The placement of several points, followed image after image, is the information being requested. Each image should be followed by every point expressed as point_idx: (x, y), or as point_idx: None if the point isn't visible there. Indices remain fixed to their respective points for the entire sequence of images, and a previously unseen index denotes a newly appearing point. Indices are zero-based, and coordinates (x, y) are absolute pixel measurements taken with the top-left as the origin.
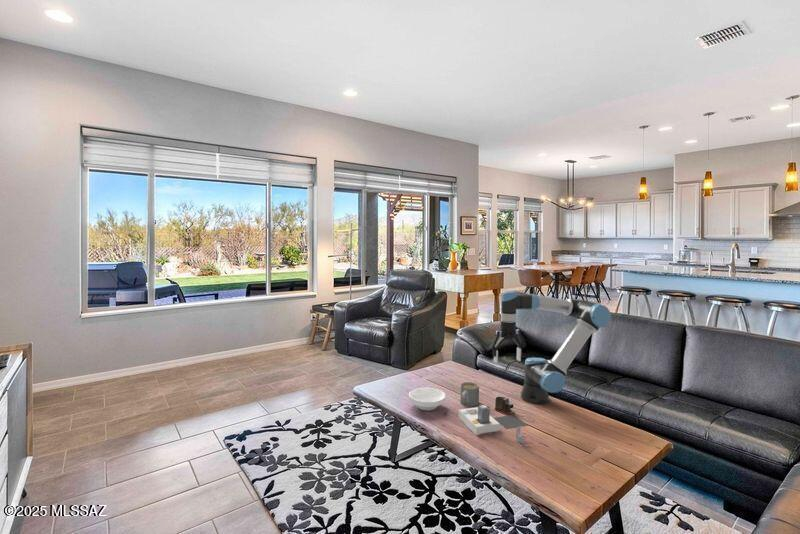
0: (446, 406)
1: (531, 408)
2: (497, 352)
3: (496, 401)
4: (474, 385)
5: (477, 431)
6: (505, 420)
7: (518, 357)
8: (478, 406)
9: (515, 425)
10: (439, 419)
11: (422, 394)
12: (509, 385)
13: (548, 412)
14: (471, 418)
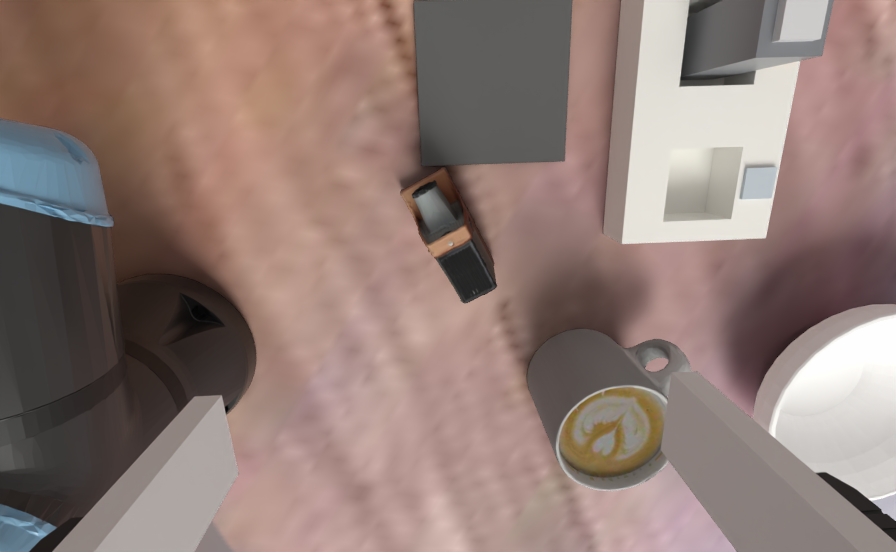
0: (714, 361)
1: (261, 233)
2: (867, 545)
3: (492, 272)
4: (568, 449)
5: None
6: (513, 108)
7: (198, 465)
8: (819, 53)
9: (491, 26)
10: (838, 230)
11: (821, 465)
12: (242, 524)
13: (179, 156)
14: (769, 100)
